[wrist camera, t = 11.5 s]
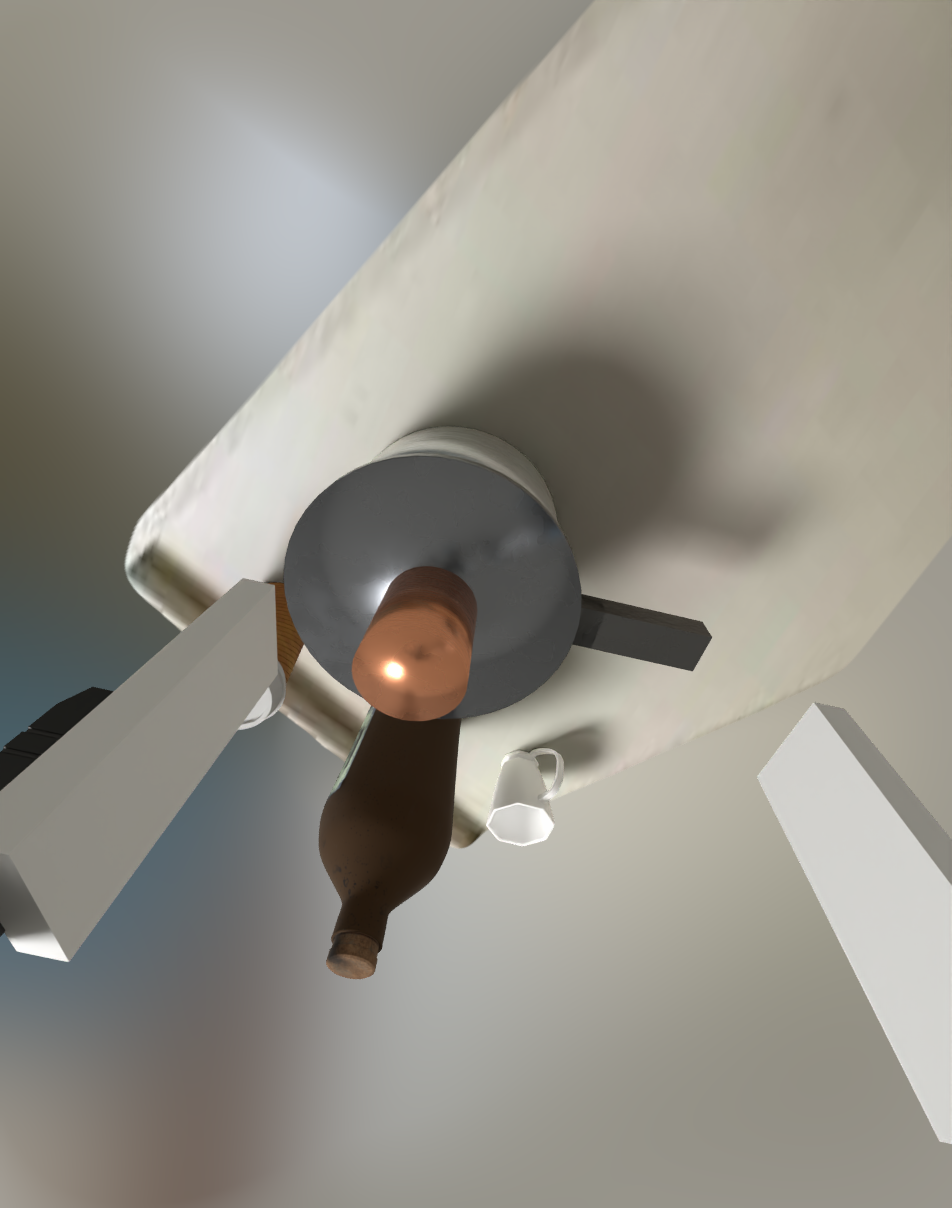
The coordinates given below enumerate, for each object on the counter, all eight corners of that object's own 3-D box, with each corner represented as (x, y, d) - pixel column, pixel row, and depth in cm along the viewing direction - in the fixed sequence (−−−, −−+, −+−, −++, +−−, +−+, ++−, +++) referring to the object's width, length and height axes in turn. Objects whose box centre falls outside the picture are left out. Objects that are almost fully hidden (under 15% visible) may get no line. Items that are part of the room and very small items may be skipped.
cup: (477, 764, 56) (472, 826, 49) (534, 717, 52) (537, 777, 45) (522, 792, 58) (523, 855, 51) (581, 748, 53) (591, 811, 46)
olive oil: (474, 671, 49) (440, 939, 27) (461, 743, 54) (425, 1015, 33) (372, 655, 49) (259, 911, 27) (370, 729, 54) (273, 992, 33)
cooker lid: (624, 496, 27) (662, 554, 20) (533, 731, 36) (537, 826, 30) (292, 417, 26) (211, 448, 19) (288, 679, 36) (233, 763, 29)
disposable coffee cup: (274, 547, 44) (199, 615, 33) (350, 618, 47) (303, 699, 37) (216, 602, 47) (131, 678, 37) (290, 664, 50) (231, 750, 40)
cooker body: (708, 481, 38) (780, 538, 27) (622, 662, 47) (652, 756, 37) (358, 396, 37) (295, 422, 26) (341, 600, 46) (290, 678, 36)
